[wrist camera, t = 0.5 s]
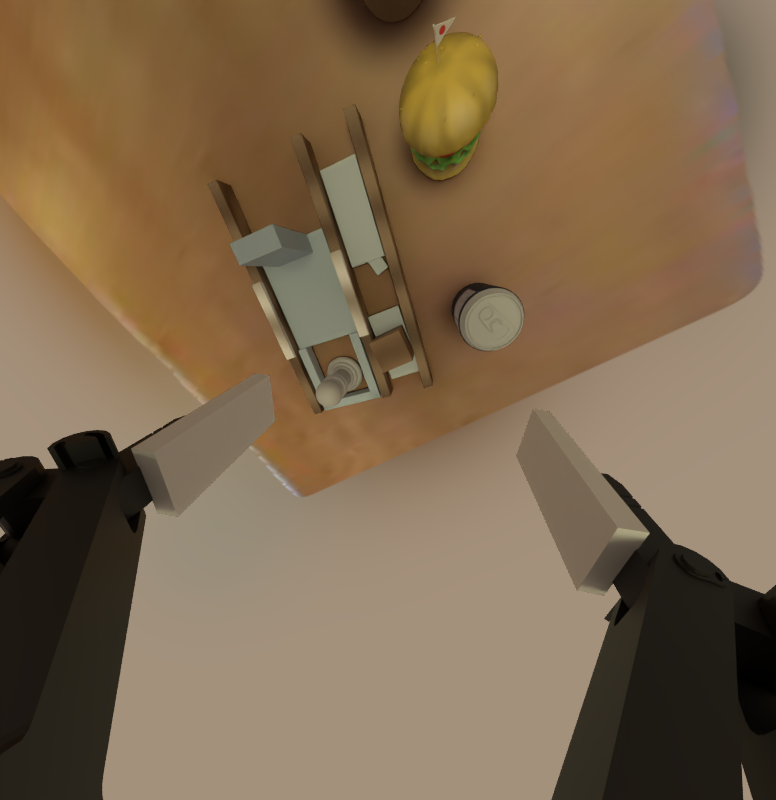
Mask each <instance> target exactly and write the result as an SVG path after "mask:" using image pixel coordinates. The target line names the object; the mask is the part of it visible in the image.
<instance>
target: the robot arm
mask: <svg viewBox="0 0 776 800" xmlns="http://www.w3.org/2000/svg"><path fill="white" fill-rule="evenodd" d="M274 422H275V416H274V408H273V400H272V392H271V384H270V376H269V375H264V374H256V373H255V374H254V375H252V376H250V377H249V378H247V379H245V380H244V381H242V382H240V383H239V384H237V385H236V386H234V387H232V388H231V389H229V390H227V391H226V392H224V393H222V394H221V395H219V396H217V397H216V398H214V399H212V400H211V401H209V402H207V403H206V404H204V405H202V406H201V407H199V408H198V409H196V410H194V411H192V412H191V413H189V414H188V415H185V416H182V417H180V418H177V419H174V420H173V421H171V422H169V423H168V424H166V425H165V426H163V428H159V429H158V430H156V431H154V433H153V434H152V433H151V434H149V435H147V436H146V437H144V438H142V439H141V440H139V441H137V442H136V443H134V444H132V445H131V446H129V447H127V448H125V449H124V450H122V451H120V452H118V450H117V448H116V445H115V443H114V441H113V439H112V436H111V434H110V433H109V432H107V431H102V430H94V431H85V432H81V433H77V434H73V435H70V436H67V437H65V438H62V439H60V440H58V441H56V442H55V443H53V444H52V445H51V446H49V447H48V450H49V452H50V454H51V456H52V457H53V459H54V461H55V463H56V464H57V466H58V468H57V469H45V468H44V467H43V465H42V464H41V462H40V460H39V459H38V458H36V457H33V456H23V457H17V458H9V459H5V460H4V461H3V460H1V461H0V527H1V528H2V529H3V531H4V532H5V534H4V535H3V536H2V537H1V538H0V800H103V797H102V780H103V773H104V767H105V760H106V754H107V749H108V742H109V736H110V730H111V724H112V717H113V712H114V706H115V700H116V694H117V688H118V682H119V676H120V670H121V664H122V658H123V651H124V645H125V640H126V633H127V628H128V621H129V616H130V610H131V604H132V598H133V591H134V586H135V580H136V573H137V567H138V562H139V556H140V549H141V543H142V537H143V531H144V525H145V519H146V514H145V511H144V509H143V508H144V507H145V506H147V505H148V504H149V503H150V502H151V501H153V503H154V505H155V508H156V510H157V513H159V514H165V515H170V516H176V517H178V516H179V515H180V514H181V513H182V512H183V511H184V510H185V509H186V508H187V507H188V506H189V505H190V504H191V503H193V502H194V500H196V498H198V497H199V496H200V494H202V493H203V492H204V491H205V490H206V489H207V488H208V487H209V486H210V485H211V484H212V483H213V482H214V481H215V480H216V479H217V478H218V477H219V476H220V475H221V474H222V473H223V472H224V471H225V470H226V469H227V468H228V467H229V466H230V465H231V464H232V463H233V462H234V461H235V460H236V459H237V458H238V457H239V456H240V455H241V454H242V453H243V452H244V451H245V450H246V449H247V448H248V447H249V446H250V445H251V444H252V443H253V442H254V441H255V440H256V439H257V438H258V437H259V436H260V435H262V434H263V433H264V432H265V431H266V430H267V429H268V428H269V427H270V426H271V425H272V424H273V423H274ZM516 456H517V458H518V461H519V463H520V465H521V468H522V470H523V472H524V474H525V476H526V478H527V481H528V483H529V485H530V487H531V490H532V492H533V494H534V496H535V499H536V501H537V503H538V505H539V507H540V510H541V512H542V514H543V516H544V519H545V520H546V523H547V525H548V527H549V530H550V532H551V534H552V536H553V539H554V541H555V543H556V545H557V547H558V550H559V552H560V554H561V556H562V559H563V561H564V563H565V565H566V567H567V570H568V572H569V574H570V576H571V578H572V580H573V583H574V585H575V587H576V590H577V591H582V592H587V593H592V594H598V595H605V593H606V592H607V591H608V589H609V588H610V586H611V585H612V584H614V585H615V587H616V589H617V591H618V592H619V594H620V596H621V598H620V599H619V600H618V602H617V603H616V604H615V606H614V607H613V608H612V609H611V611H610V612H609V613H608V614H607V616H606V617H605V619H606V620H607V621H610V623H609V626H608V629H607V632H606V635H605V638H604V641H603V644H602V647H601V650H600V653H599V657H598V660H597V663H596V666H595V669H594V672H593V675H592V678H591V681H590V684H589V687H588V690H587V693H586V696H585V699H584V702H583V705H582V708H581V711H580V714H579V718H578V720H577V724H576V727H575V729H574V733H573V736H572V739H571V742H570V745H569V748H568V751H567V754H566V757H565V760H564V763H563V766H562V769H561V772H560V776H559V778H558V781H557V784H556V787H555V791H554V794H553V797H552V800H743V787H742V768H741V762H742V765H743V768H744V772H745V775H746V778H747V782H748V785H749V788H750V792H751V795H752V798H753V800H776V585H775V586H774V587H773V588H772V589H771V590H769V591H768V592H767V593H766V594H763V593H760V592H757V591H755V590H752V589H750V588H747V587H744V586H742V585H739V584H737V583H734V582H731V581H730V580H729V579H728V578H727V577H726V576H725V574H724V573H723V572H722V571H721V570H720V569H719V568H718V567H717V566H715V565H714V564H713V563H712V562H710V561H709V560H708V559H706V558H705V557H703V556H701V555H700V554H698V553H697V552H695V551H693V550H690V549H688V548H686V547H683V546H681V545H676V544H674V543H673V542H672V541H671V540H670V539H669V537H668V536H667V535H666V534H665V533H664V532H663V531H662V529H661V528H660V527H659V526H658V525H657V524H656V523H655V522H654V520H653V519H652V518H651V517H650V516H649V515H648V514H647V512H646V511H645V510H644V509H641V506H640V505H639V503H638V502H637V501H636V500H635V499H633V498H632V495H631V494H630V493H629V492H628V491H627V490H626V489H625V487H624V486H623V485H622V484H620V483H619V482H618V481H616V480H615V479H614V478H612V477H611V476H609V475H608V474H602V473H600V472H599V471H598V469H597V468H596V467H595V466H594V465H593V463H592V462H591V461H590V460H589V458H588V457H587V456H586V455H585V454H584V452H583V451H582V450H581V449H580V448H579V446H578V445H577V444H576V443H575V442H574V440H573V439H572V438H571V437H570V435H569V434H568V433H567V432H566V430H564V428H563V427H562V426H561V424H560V423H559V422H558V421H557V420H556V418H555V417H554V416H553V415H552V413H551V412H550V411H544V410H536V409H533V410H532V413H531V416H530V418H529V421H528V424H527V427H526V430H525V433H524V436H523V438H522V441H521V444H520V447H519V450H518V452H517V455H516Z"/></svg>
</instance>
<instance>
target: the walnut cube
mask: <svg viewBox="0 0 776 800" xmlns="http://www.w3.org/2000/svg"><path fill="white" fill-rule="evenodd" d="M369 345H370V347H371V349H372V351H373V353H374V355H375V357H376V359H377V361H378V363H379V365H380V367H381V369H382V371H383V373H385V372H387V371H389V370H392V369H394V368H397V367H399V366H401V365H404V364H406V363H408V362H411V361H413V357H414V352H413V348H412V345H411V343H410V341H409V339H408V336H407V334H406V332H405V330H404V327H403V325H400V326H398V327H395V328H393V329H391V330H389V331H387V332H385V333H383V334H381V335H378V336H376V337H375V338H374V339H373V340H372V341H371V342H370V343H369Z"/></svg>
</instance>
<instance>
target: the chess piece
mask: <svg viewBox="0 0 776 800" xmlns="http://www.w3.org/2000/svg"><path fill="white" fill-rule="evenodd" d="M361 381H362V370H361V368H360V366H359V364H358V363H357V362H356V361H354V360H353V359H351V358H348V357H338V358H335V359H334V360H332V361H331V362H330V364H329V366H328V369H327V377H326V378H325V379H324V380H323V382H322V383H320V384H319V385H318V387H317V389H316V398H317V401H318V402H319V403H320V404H321V405H323V406H326V407H332V406H335V405H337V404H338V403H339V402H340V401H341V399H342V397H343V396H344V395H345V394H346V392H347V391H352V390H354V389H356V388H357V387H358V386H359V385H360V384H361Z"/></svg>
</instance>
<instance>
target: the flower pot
mask: <svg viewBox="0 0 776 800" xmlns="http://www.w3.org/2000/svg"><path fill="white" fill-rule="evenodd" d="M363 1H364V3H365V4H366V6H367V7H368V9H369V10H370V11H371V12H372V13H373V14H374V15H375V16H376V17H377V18H379V19H381V20H383V21H386V22H397V21H401V20H403V19H405V18H406V17H408V16H409V15H410V14H412V13H413V12H414V11H415V9H416V8H417V7H418V5H419V4H420V2H421V1H422V0H363Z"/></svg>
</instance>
